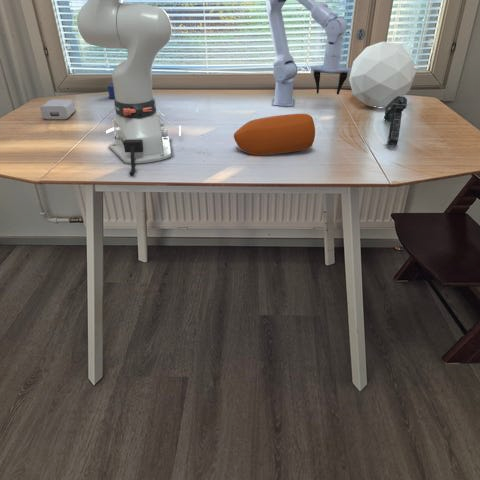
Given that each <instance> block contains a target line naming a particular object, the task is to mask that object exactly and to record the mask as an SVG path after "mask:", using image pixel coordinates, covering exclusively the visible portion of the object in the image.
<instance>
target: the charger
mask: <svg viewBox="0 0 480 480" xmlns="http://www.w3.org/2000/svg"><path fill="white" fill-rule="evenodd" d="M39 109H40V114H41V117H42V119H44V120H67V119H69V118H70V117H71V115H73V113H74V112H75V111H76V107H75V103H74V100H72V99H71V98H66V99H65V98H64V99H63V98H61V99H59V98H52V99H48V100H47V101H46V102H45V103H44V104H43V105H41V106H40V108H39Z"/></svg>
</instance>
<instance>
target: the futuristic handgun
mask: <svg viewBox="0 0 480 480" xmlns="http://www.w3.org/2000/svg"><path fill="white" fill-rule="evenodd" d="M407 105H408V99H407V97H406V96H397V97H396V98H394V99H393V100H392V101H391V102H390V103H389V104H388V105H387V106H386V107H385V110H384V115H383V121H385V122H389V124H390V125H389V132H388V137H387V141H386V142H387V143H386V146H395V147H396V146H398V142H399V137H400V129H401V124H402V116H403V112H404V110H406V109H407ZM384 119H385V120H384ZM386 120H388V121H386Z"/></svg>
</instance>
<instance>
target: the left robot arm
mask: <svg viewBox="0 0 480 480" xmlns="http://www.w3.org/2000/svg"><path fill="white" fill-rule="evenodd" d="M77 13H78V14H77V18H76V25H77V30H78V32H79V34H80V36H81V38H82V40H83V41H84V42H85V43H86V44H89V45H92V46H96V47H99V48H103V49H121V50H123V49H125V50H127V58H126V60H124V61H122V62H120V63H119V64H117V65H116V66H115V67H113V70H112V72H111V80H112V84H113V87H114V94H115V99H113V102H114V105H113V106H114V110H115V116H114V118H113V119H112V121H111V122H112V127H111V128H109V129H107V130H106V131H105V133H106V134H108V133H111V132H113V136H114V141H112V142H111V143H109V148H110V149H111V150H112V151H113V152H114V153H115V155H116V156H118V158H120V159H121V160H122V161H123V163H125V164H130V166H131V169H130V172H129V175H130V176H131V177H132V176H134V174H135V171H136V164H147V163H148V164H149V163H154V162H159V161H164V160H167V159H169V158H171V157H172V149H171V148H172V147H171V141H170V137H169V136H168V130H167V128H163V129H162V127H165V124H164V123H165V122H164V121H162V120H161V114H160V113H158V112H157V105H156V101H155V96H154V93H153V79H152V77H153V76H152V75H153V74H152V72H153V67H154V63H155V60H156V58H157V56H158V54H159V53H160V52H161V51H162V50H163V49H164V48H165V47H166V46H167V45H168V44H169V42H170V40H171V38H172V33H173V25H172V22H171V19H170V16H169V15H168V13H167V12H166V11H165V9H164V8H162V7H158V6H154V5H150V4H147V3H146V4H145V3H123V0H87V1H86V2H85V3H84V4H83V5H82V6H81V8H80V9H79V11H78V12H77ZM178 129H179V131H178V136H181V130H182V126H181V125H179V128H178Z"/></svg>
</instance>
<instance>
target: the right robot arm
mask: <svg viewBox="0 0 480 480" xmlns="http://www.w3.org/2000/svg"><path fill="white" fill-rule="evenodd" d="M287 1H288V0H266V3H265V9H266V15H267V20H268V21H267V22H268V25H269V30H270V35H271V40H272V46H273V50H274V55H275V57H274V60H273V63H272V65H273V70H272V75H273V76H272V77H273V78H274V80H275V85H274V86H275V87H274V98H273V103H272V105H273V106H277V107H279V106H280V107H293V106H294V105H293V104H294V98H293V93H294V82H295V77H296V76H297V74H298V65H297V64H296V62H295V59H294V57H293V56H292V54H290V50H289V44H288V40H287V33H286V28H285V23H284V17H283V11H282V8H283V7H284V5H285V3H286V2H287ZM296 1H297V2H298V3H299V4H301V5H302V6H303V7H304V8H306V9H307V10H308V11H309V12H310V15H311V18H312V20H314V21H315V22H316V23H317V24H318V25H320V27H322V28H323V29H324V31H325V34H326V41H325V42H326V43H325V49H324V58H323V66H322V65H320V66H310V74H313V78H314V81H315V87H316V94H319V93H320V82H321V81H320V80H321V74H330V75H331V74H332V75H333V74H335V75H339V77H338V84H337V89H336V95H340V91H341V89H342V87H343V85H344V83H345V81H346V80H347V78H348V76H350V73H351V69H352V67H342V66H340V65H341V64H340V63H341V55H342V48H343V43H344V34H345V33H346V31H347V29H348V22H347V20H346V19H345V17H343V16H339V14H338V13H337V12H334V11H333V10H332V9H331V8H330V7H329V4H328V3H327V2H325V3H324V2H317V1H316V0H296Z"/></svg>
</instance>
